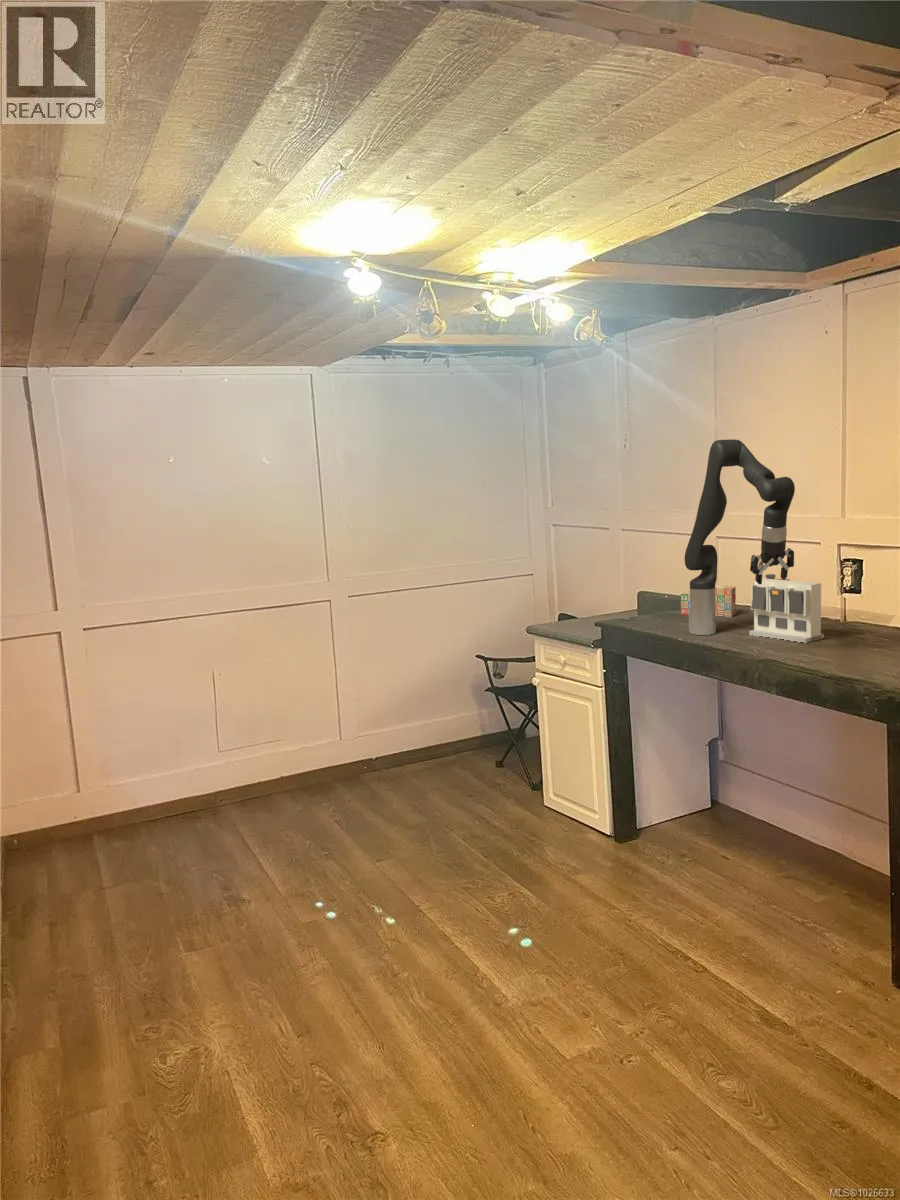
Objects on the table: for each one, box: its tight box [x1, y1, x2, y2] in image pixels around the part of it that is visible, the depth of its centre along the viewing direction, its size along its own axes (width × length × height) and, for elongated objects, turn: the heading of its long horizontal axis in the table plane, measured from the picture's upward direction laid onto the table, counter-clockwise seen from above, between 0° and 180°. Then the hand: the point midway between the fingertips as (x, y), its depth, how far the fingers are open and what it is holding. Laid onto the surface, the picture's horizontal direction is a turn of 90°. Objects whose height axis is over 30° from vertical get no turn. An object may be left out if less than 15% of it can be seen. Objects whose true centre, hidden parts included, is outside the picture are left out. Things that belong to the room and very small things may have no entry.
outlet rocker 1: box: [769, 588, 785, 612], centre depth 319 cm, size 2×5×8 cm, turn 35°
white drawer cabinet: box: [748, 577, 825, 644], centre depth 323 cm, size 11×23×20 cm, turn 36°
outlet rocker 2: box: [788, 590, 804, 614], centre depth 313 cm, size 2×5×8 cm, turn 35°
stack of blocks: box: [680, 585, 737, 618], centre depth 374 cm, size 21×6×12 cm, turn 58°
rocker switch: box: [750, 587, 766, 610], centre depth 325 cm, size 2×5×8 cm, turn 36°
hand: (771, 581), depth 299 cm, fingers open, 8 cm apart
